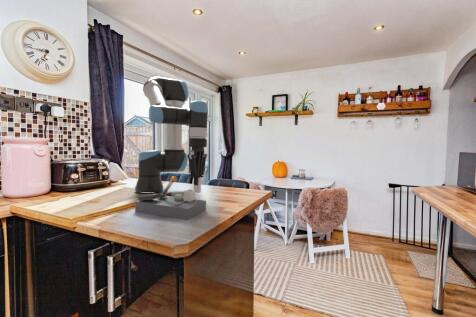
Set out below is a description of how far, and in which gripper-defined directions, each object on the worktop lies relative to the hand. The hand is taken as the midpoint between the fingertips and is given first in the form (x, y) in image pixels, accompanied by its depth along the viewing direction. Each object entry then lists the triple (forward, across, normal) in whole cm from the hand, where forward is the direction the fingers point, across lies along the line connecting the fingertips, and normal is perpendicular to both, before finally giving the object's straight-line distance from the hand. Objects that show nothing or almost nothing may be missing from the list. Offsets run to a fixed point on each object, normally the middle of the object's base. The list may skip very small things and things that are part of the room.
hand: (197, 192), depth 103 cm
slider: (+2, +6, 0) cm, 6 cm away
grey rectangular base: (+7, +10, -6) cm, 13 cm away
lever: (+1, +8, -12) cm, 14 cm away
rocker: (+1, +13, -14) cm, 19 cm away
